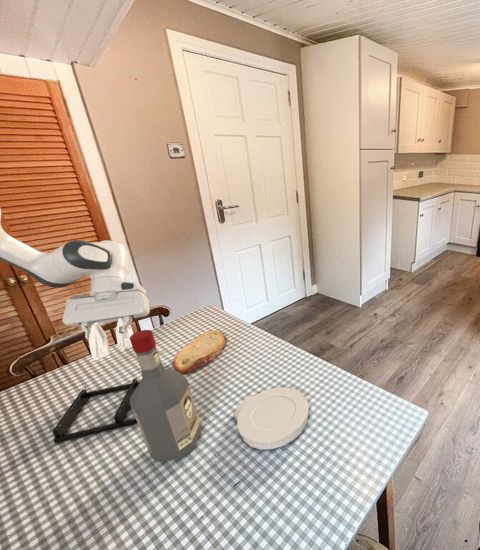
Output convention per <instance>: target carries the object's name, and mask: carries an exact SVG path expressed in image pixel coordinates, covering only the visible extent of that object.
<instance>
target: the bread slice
mask: <svg viewBox="0 0 480 550" xmlns="http://www.w3.org/2000/svg"><path fill="white" fill-rule="evenodd" d="M225 345H226V338H225V336H224V334H223V333H222V332H220V331H217V330H207V331H206V332H203V333H202V334H200V335H198V336H196V338H194V339H193V340H191V341H190V342H189V343H188V344H186V345H185V346H184V347H183V348H182V349H181V350H179V351H178V352H177V353H176V355H175V357H174V358H173V361H172V369H173V371H177V372H179V373H181V374H182V375H183V374H190V373H193V372H194V371H195V370H197V369H199V368H201V367H204V366H206V365H208V364H209V363H211V362H212V361H213V360H214V359H216V358H217V357H218V356H219V354H220V353H221V351H222V349H224V347H225Z"/></svg>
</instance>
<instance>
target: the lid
mask: <svg viewBox="0 0 480 550" xmlns="http://www.w3.org/2000/svg"><path fill="white" fill-rule="evenodd" d="M309 406H310V405H309V402H308V399H307V397H306V396H305V395H304V394H303V392H300V391H299V390H298V389H295V388H291V387H288V386H287V387H285V386H283V387H273V388H270V389H266V390H264V391H262V392H260V393H255V394H253V395H250V396H247V398H245V399H243V400H242V401H241V402H240V403H239V404H238V405H237V407H236V408H235V411H234V414H233V417H234V419H235V420H236V422H237V423H236V427H237V430H238V432H239V436H241V438H242V440H243V442H245V443H246V444H247V445H248V447H251V448H254V449H258V450H274V449H278V448H281V447H283V446H285V445H287V444H289V443H291V442H292V441H294V440H295V439H296V438H297V437H298V436H299V435H300V434H301V433H302V432H303V431H304V429H305V427H306V425H307V423H308V417H309V411H310V407H309Z"/></svg>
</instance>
